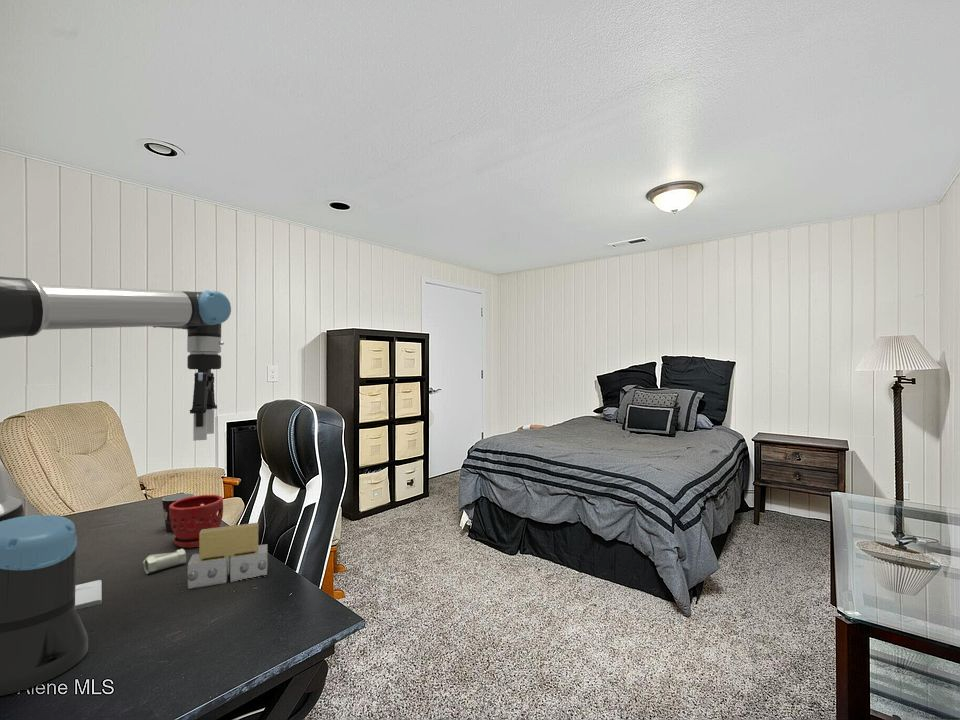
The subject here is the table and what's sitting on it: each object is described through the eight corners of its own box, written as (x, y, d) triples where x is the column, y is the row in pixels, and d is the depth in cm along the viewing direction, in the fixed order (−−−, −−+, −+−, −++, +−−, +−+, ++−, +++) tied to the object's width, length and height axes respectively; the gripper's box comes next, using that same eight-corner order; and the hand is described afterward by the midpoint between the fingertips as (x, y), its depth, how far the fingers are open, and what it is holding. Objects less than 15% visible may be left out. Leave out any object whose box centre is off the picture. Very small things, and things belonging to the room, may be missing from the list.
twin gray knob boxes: (266, 577, 110) (266, 553, 110) (187, 590, 104) (187, 565, 104) (267, 566, 116) (267, 544, 116) (192, 578, 110) (192, 554, 110)
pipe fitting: (139, 571, 116) (148, 576, 111) (139, 555, 116) (148, 559, 112) (176, 561, 122) (186, 565, 118) (175, 545, 122) (186, 549, 118)
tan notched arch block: (257, 573, 111) (257, 526, 111) (199, 582, 106) (199, 533, 107) (258, 568, 114) (258, 522, 114) (201, 577, 109) (201, 529, 109)
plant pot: (175, 538, 137) (175, 497, 138) (226, 532, 142) (226, 492, 142) (163, 554, 125) (163, 508, 125) (219, 547, 130) (219, 503, 130)
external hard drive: (48, 620, 93) (53, 597, 103) (101, 606, 98) (101, 585, 108) (48, 612, 93) (53, 589, 103) (101, 598, 98) (101, 578, 108)
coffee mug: (164, 527, 147) (164, 495, 147) (196, 523, 151) (196, 492, 151) (157, 539, 137) (157, 504, 137) (191, 534, 140) (191, 501, 140)
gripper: (215, 351, 111) (214, 442, 110) (226, 355, 134) (226, 430, 133) (177, 351, 108) (177, 444, 107) (195, 355, 131) (195, 432, 130)
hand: (204, 436), depth 120 cm, fingers open, 13 cm apart
